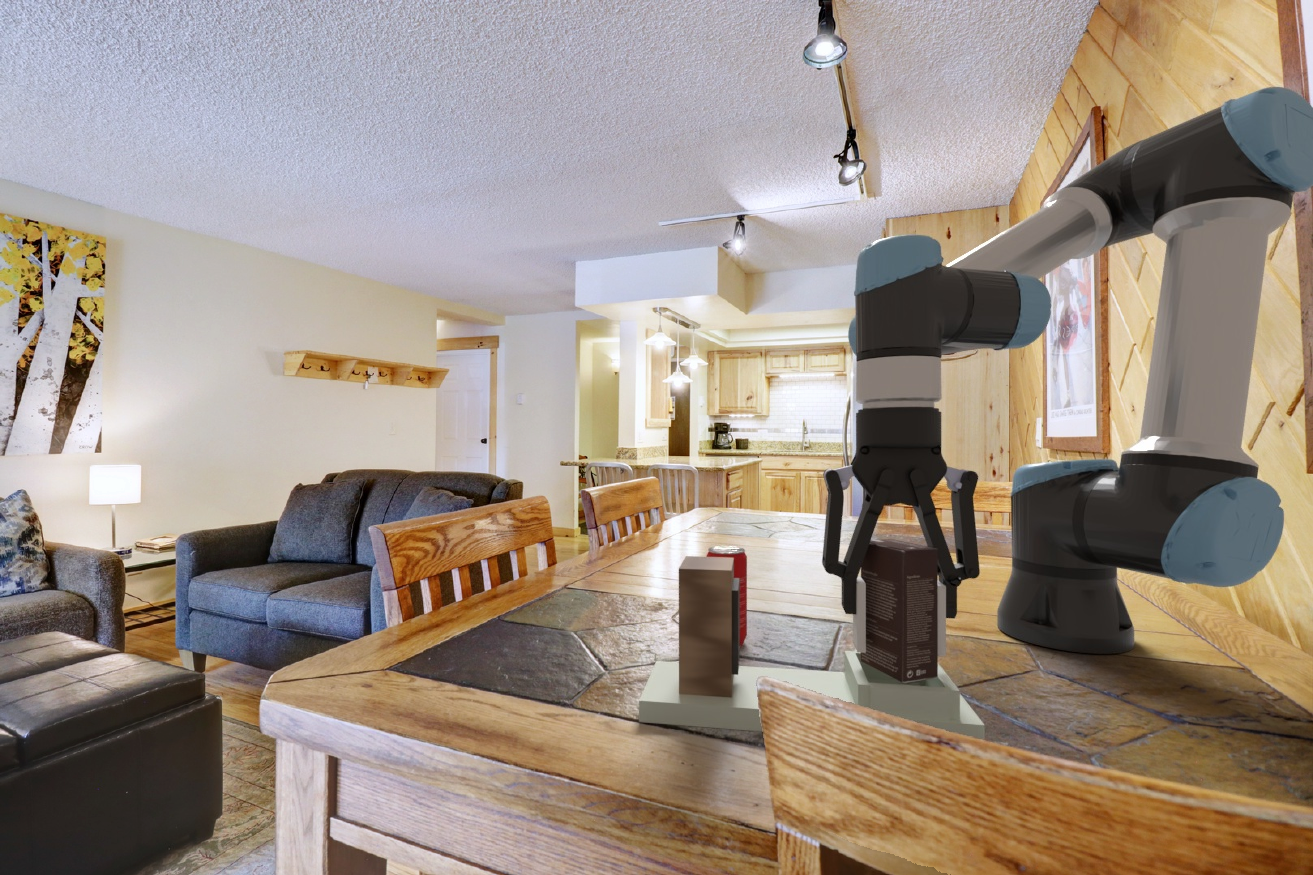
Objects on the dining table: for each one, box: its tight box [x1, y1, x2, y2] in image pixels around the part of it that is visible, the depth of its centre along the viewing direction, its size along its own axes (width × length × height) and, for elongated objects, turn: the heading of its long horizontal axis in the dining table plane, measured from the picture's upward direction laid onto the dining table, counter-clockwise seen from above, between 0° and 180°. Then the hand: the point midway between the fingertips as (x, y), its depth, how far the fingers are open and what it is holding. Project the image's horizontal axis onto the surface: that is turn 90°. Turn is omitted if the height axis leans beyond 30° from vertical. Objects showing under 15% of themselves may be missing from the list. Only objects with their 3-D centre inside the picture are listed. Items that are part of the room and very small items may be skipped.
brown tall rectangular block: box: [678, 555, 741, 698], centre depth 60 cm, size 6×6×12 cm
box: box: [860, 538, 939, 684], centre depth 58 cm, size 6×4×12 cm
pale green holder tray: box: [638, 649, 986, 741], centre depth 59 cm, size 30×10×4 cm, turn 81°
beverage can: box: [705, 545, 748, 647], centre depth 78 cm, size 5×5×12 cm
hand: (897, 649), depth 58 cm, fingers closed on box, 6 cm apart
